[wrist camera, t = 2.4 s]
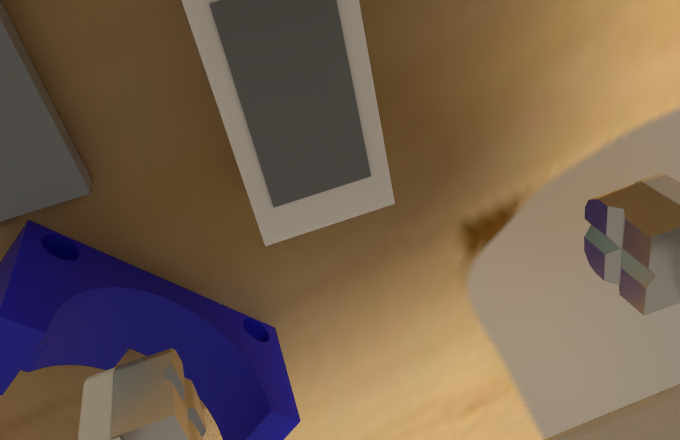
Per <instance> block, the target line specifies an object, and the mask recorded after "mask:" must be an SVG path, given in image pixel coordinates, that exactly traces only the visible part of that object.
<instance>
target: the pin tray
mask: <svg viewBox="0 0 680 440" xmlns="http://www.w3.org/2000/svg"><path fill="white" fill-rule="evenodd" d="M92 184H93V181H92V179H91V177H90V175H89V173H88V171H87V169H86V167H85V165H84V163H83V161H82V159H81V157H80V155H79V153H78V151H77V149H76V147H75V145H74V143H73V141H72V139H71V137H70V136H69V134H68V132H67V130H66V128H65V126H64V124H63V122H62V120H61V118H60V116H59V114H58V112H57V110H56V108H55V106H54V104H53V102H52V100H51V98H50V96H49V94H48V92H47V90H46V88H45V86H44V84H43V83H42V81H41V79H40V77H39V75H38V73H37V71H36V69H35V67H34V65H33V63H32V61H31V59H30V57H29V55H28V53H27V51H26V49H25V47H24V45H23V43H22V41H21V39H20V37H19V35H18V33H17V31H16V30H15V28H14V26H13V24H12V22H11V20H10V18H9V16H8V14H7V12H6V10H5V8H4V6H3V4H2V2H1V0H0V222H1V221H4V220H7V219H11V218H14V217H17V216H20V215H23V214H27V213H30V212H33V211H36V210H40V209H43V208H46V207H49V206H52V205H56V204H59V203H62V202H65V201H69V200H72V199H75V198H78V197H81V196H85V195H88V194H91V190H92Z"/></svg>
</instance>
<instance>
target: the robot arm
mask: <svg viewBox="0 0 680 440" xmlns="http://www.w3.org/2000/svg"><path fill="white" fill-rule="evenodd" d="M585 219H586V220H587V221H588V222H589V223H590V224H591V227H590V228H589V230H588V232H587V233H586V235H585V237H584V251H585V254H586V256H587V259H588V261H589V264H590V266H591V267H592V268H593V270H594V271H595V273H596V274H597V275H598V276H600V277H601V278H602V279H603V280H604V281H607V282H611V283H614V284H618V285H619V292H620V295H621V296H622V297H623V298H624V299H626V300H627V301H628V302H629V303H630V304H631V305H632V306H634V307H635V308H636V309H637V310H638V311H639V312H640V313H642V314H643V315H647V314H650V313H652V312H655V311H658V310H661V309H664V308H666V307H669V306H672V305H674V304H678V303H680V182H678V181H677V180H675V179H673V178H671V177H669V176H668V175H665V174H656V175H653V176H650V177H648V178H645V179H643V180H640V181H637V182H635V183H634V184H631V185H628V186H625V187H623V188H620V189H617V190H614V191H612V192H609V193H606V194H603V195H601V196H598V197H595V198H592V199H590V200H588V202H587V204H586V207H585ZM205 432H206V425H205V418H204V414H203V410H202V406H201V402H200V399H199V397H198V394H197V391H196V389H195V387H194V385H193V383H192V381H191V380H189V379H187V378H185V377H184V372H183V363H182V361H181V359H180V357H179V356H178V354H177V352H176V350H174V349H173V348H170V349H167V350H164V351H161V352H158V353H155V354H152V355H149V356H146V357H143V358H140V359H137V360H134V361H131V362H128V363H125V364H122V365H119V366H117V367H116V368H112V369H109V370H106V371H103V372H100V373H97V374H94V375H91V376H88V377H87V379H86V380H85V382H84V385H83V394H82V403H81V413H80V422H79V431H78V440H203V439H202V438H203V436H204V434H205ZM544 440H680V384H679V385H676V386H674V387H671V388H669V389H666V390H664V391H661V392H659V393H657V394H655V395H652V396H649V397H647V398H644V399H642V400H640V401H637V402H635V403H632V404H630V405H627V406H625V407H623V408H620V409H618V410H615V411H613V412H610V413H608V414H605V415H603V416H601V417H598V418H596V419H594V420H591V421H589V422H586V423H583V424H581V425H579V426H576V427H574V428H571V429H569V430H566V431H564V432H562V433H559V434H557V435H554V436H552V437H549V438H547V439H544Z"/></svg>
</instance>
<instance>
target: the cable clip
mask: <svg viewBox="0 0 680 440" xmlns="http://www.w3.org/2000/svg"><path fill="white" fill-rule="evenodd" d="M129 348H130V349H133V350H135V351H138V352H140V353H142V354H144V355H146V356H149V355H152V354H155V353H158V352H161V351H164V350H167V349H170V348H173V349H174V350H176V352H177V354H178V356H179V357H180V359H181V361H182V363H183V372H184V377H185V378H187V379H189V380H191V381H192V383H193V385H194V387H195V389H196V391H197V394H198V397H199V398H200V399H201V400H202V402H203V403H204V404H205V406H206V407H207V409H208V410H209V412H210V413H211V415H212V417H213V418H214V420H215V422H216V424H217V426H218V428H219V430H220V433H221V435H222V438H223V440H284V438H285V437H286V436H287V435H288V434H289V433H290V432H291V431H292V430H293V429H294V428H295V427H296V425H297V424H298V423H299V422H300V418H299V414H298V410H297V407H296V403H295V399H294V396H293V392H292V388H291V385H290V381H289V377H288V374H287V370H286V366H285V363H284V359H283V355H282V352H281V348H280V344H279V341H278V337H277V333H276V330H275V328H274V327H272V326H269V325H267V324H265V323H263V322H260V321H258V320H256V319H254V318H251V317H249V316H247V315H244V314H242V313H240V312H238V311H235V310H233V309H231V308H228V307H226V306H224V305H222V304H219V303H217V302H215V301H212V300H210V299H208V298H206V297H203V296H201V295H199V294H197V293H194V292H192V291H190V290H187V289H185V288H183V287H181V286H178V285H176V284H174V283H171V282H169V281H167V280H165V279H162V278H160V277H158V276H156V275H153V274H151V273H149V272H146V271H144V270H142V269H140V268H137V267H135V266H133V265H130V264H128V263H126V262H124V261H121V260H119V259H117V258H114V257H112V256H110V255H108V254H105V253H103V252H101V251H99V250H96V249H94V248H92V247H89V246H87V245H85V244H83V243H80V242H78V241H76V240H73V239H71V238H69V237H67V236H64V235H62V234H60V233H58V232H55V231H53V230H51V229H48V228H46V227H44V226H42V225H39V224H37V223H35V222H32V221H30V220H28V221H27V223H26V224H25V226H24V227H23V229H22V230H21V232H20V233H19V235H18V236H17V238H16V239H15V241H14V243H13V244H12V246H11V247H10V249H9V250H8V252H7V253H6V255H5V256H4V258H3V259H2V261H1V262H0V395H1V396H2V395H3V394H4V392H5V391H6V389H7V388H8V387H9V385H10V384H11V382H12V381H13V379H14V378H15V377H16V375H17V374H18V372H19V371H20V370H23V371H26V372H31V371H34V370H37V369H40V368H44V367H49V366H56V365H84V366H90V367H96V368H100V369H104V370H109V369H112V368H114V367H115V366H116V364H117V363H118V362H119V361H120V359H121V358H122V357H123V355H124V354H125V353H126V352H127V350H128V349H129Z"/></svg>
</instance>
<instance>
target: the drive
mask: <svg viewBox="0 0 680 440" xmlns="http://www.w3.org/2000/svg"><path fill="white" fill-rule="evenodd" d="M182 3H183V6H184V9H185V12H186V15H187V18H188V21H189V24H190V27H191V30H192V33H193V36H194V39H195V42H196V44H197V47H198V50H199V53H200V56H201V59H202V62H203V65H204V68H205V71H206V74H207V77H208V80H209V83H210V86H211V89H212V91H213V94H214V97H215V100H216V103H217V106H218V109H219V112H220V115H221V118H222V121H223V124H224V127H225V130H226V133H227V135H228V138H229V141H230V144H231V147H232V150H233V153H234V156H235V159H236V162H237V165H238V168H239V171H240V174H241V177H242V180H243V182H244V185H245V188H246V191H247V194H248V197H249V200H250V203H251V206H252V209H253V212H254V215H255V218H256V221H257V224H258V226H259V229H260V232H261V235H262V238H263V241H264V244H265V246H268V245H271V244H274V243H277V242H280V241H284V240H287V239H290V238H293V237H296V236H299V235H302V234H305V233H308V232H311V231H314V230H317V229H320V228H323V227H326V226H329V225H332V224H335V223H338V222H341V221H344V220H347V219H350V218H353V217H356V216H359V215H362V214H365V213H368V212H372V211H375V210H378V209H381V208H384V207H387V206H390V205H393V204H395V201H394V196H393V190H392V184H391V179H390V173H389V167H388V162H387V156H386V150H385V145H384V139H383V133H382V128H381V122H380V116H379V111H378V105H377V99H376V94H375V88H374V82H373V77H372V71H371V66H370V60H369V54H368V49H367V43H366V37H365V32H364V26H363V20H362V15H361V9H360V3H359V0H182Z"/></svg>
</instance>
